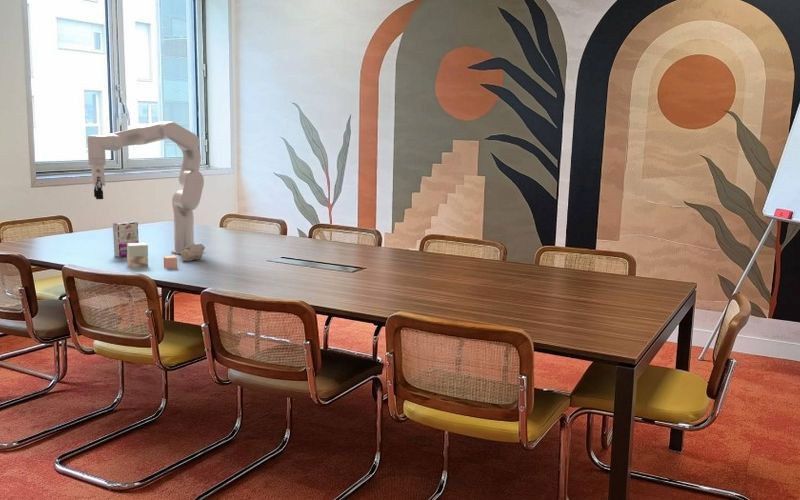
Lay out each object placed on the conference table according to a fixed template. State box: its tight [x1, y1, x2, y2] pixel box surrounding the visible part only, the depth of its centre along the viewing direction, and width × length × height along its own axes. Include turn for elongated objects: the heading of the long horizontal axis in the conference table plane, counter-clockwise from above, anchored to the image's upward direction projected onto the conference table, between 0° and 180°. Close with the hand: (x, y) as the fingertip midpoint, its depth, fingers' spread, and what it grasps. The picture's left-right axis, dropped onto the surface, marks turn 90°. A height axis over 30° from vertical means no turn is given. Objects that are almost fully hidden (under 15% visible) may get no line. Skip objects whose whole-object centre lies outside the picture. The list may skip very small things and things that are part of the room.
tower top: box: [127, 242, 149, 257], centre depth 360 cm, size 8×8×5 cm
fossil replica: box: [180, 243, 206, 262], centre depth 376 cm, size 12×8×10 cm
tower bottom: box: [126, 254, 149, 268], centre depth 360 cm, size 8×8×5 cm
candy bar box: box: [112, 220, 140, 258], centre depth 383 cm, size 11×5×16 cm, turn 143°
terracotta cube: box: [163, 255, 178, 269], centre depth 357 cm, size 5×5×5 cm
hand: (98, 198), depth 369 cm, fingers open, 9 cm apart
